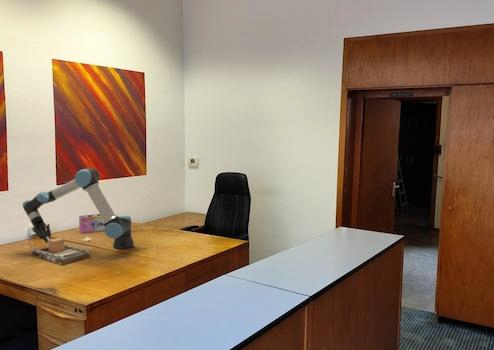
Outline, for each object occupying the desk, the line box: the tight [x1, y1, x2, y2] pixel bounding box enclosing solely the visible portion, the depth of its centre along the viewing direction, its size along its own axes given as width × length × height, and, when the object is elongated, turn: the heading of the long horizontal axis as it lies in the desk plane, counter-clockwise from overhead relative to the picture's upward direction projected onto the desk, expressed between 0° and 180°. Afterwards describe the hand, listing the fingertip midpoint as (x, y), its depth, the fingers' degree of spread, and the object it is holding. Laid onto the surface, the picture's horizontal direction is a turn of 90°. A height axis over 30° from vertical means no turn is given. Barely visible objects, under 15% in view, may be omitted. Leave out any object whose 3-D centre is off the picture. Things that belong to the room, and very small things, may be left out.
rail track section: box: [31, 244, 91, 265], centre depth 296 cm, size 36×20×4 cm, turn 57°
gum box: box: [78, 213, 105, 234], centre depth 372 cm, size 24×8×14 cm, turn 124°
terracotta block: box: [48, 237, 65, 253], centre depth 298 cm, size 6×8×8 cm
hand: (50, 245), depth 302 cm, fingers closed
